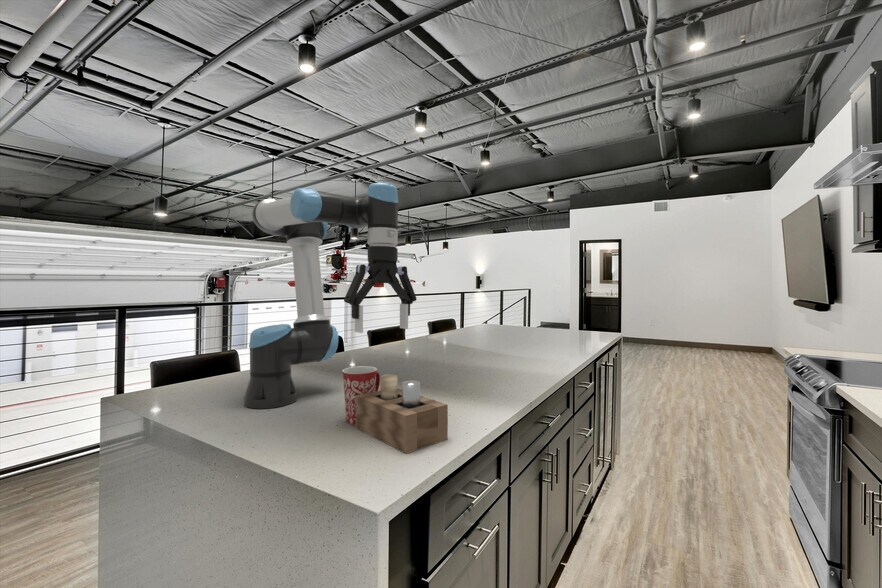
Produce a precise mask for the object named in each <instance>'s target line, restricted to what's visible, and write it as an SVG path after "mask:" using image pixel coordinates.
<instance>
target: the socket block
mask: <svg viewBox="0 0 882 588" xmlns="http://www.w3.org/2000/svg"><path fill="white" fill-rule="evenodd" d="M397 390H398V398H394V399H389V400H385V399H382V398H381V390H378V391H376V392H371V393H366V394H361V395H356V424H355V428H356V429H358V430H359V431H361V432H363V433H366V435H367V434H368V435H369V436H372V437H373V438H375V439H377V440H379V441H381V442H382V443H384V444H386V445H389V446H390V447H392V448H394V449H396V450H398V451H400V452H401V453H404V454H410V453H412V452H415V451H417V450H421V449H423V448H426V447H429V446H432V445H435V444H437V443H441V442H443V441H446V440H448V439H449V437H448V434H449V432H448V431H449V430H448V428H449V426H448V417H449V416H448V413H449V412H448V411H449V409H448V406H449V405H448V403H443V402H441V401H437V400H434V399H432V398H429V397H425V396H423V395H420V406H417V407H414V408H410V409H409V408H406V407H403V406H402V388H398V387H397Z"/></svg>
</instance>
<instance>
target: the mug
mask: <svg viewBox="0 0 882 588" xmlns="http://www.w3.org/2000/svg"><path fill="white" fill-rule="evenodd" d="M341 373H342V377H343V390H344V405H345V407H344V408H345V419H346V420H345V421H346V422H347V423H348V424H351V425H356V395H361V394H366V393H371V392H376V391H379V387H380V385H381V382H380V376H381V375H380V373H379V372H378V368H376V367H375V366H367V365H365V366H364V365H359V366H358V365H357V366H350V367H346V368H344V369H342V371H341Z"/></svg>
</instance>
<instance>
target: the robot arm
mask: <svg viewBox="0 0 882 588" xmlns="http://www.w3.org/2000/svg"><path fill="white" fill-rule="evenodd" d="M366 195H367V196H364V197H356V196H355V197H354V196H348V195H343V194H337V193H330V192H325V191H321V190H316V189H313V188H303V187H302V188H301V187H297V188H295V190H294V191H293V192H292V194H291V196H289V197H284V198H280V199H275V198H265V199H262V200H259V201H258V202H256V204H255V205H254V206H253V207H252V213H251V217H252V218H251V219H252V221H253V223H254V224H255V226H256V227H257V228H258V229H259V230H260V231H262V232H264V233H266V234H269V235H272V236H277V237H285V238H286V239H285V240H286V244H287V245H288V246H289V247H290V248H291V251H292V264H293V265H292V266H293V276H294V289H295V301H296V313H297V314H296V315H297V316H296V317H297V318H296V319H295V320H294V322H293V323H292V325H293V327H292V326H291V325H290V324H289V323H288V324H287V323H281V324H280V323H279V324H272V325H266V326H263V327H262V326H261V327H258V328H255V329H254V330H252V331H251V333H250V335H249V343H248V344H249V345H248V347H249V381H248V384H247V387H246V390H245V392H244V395H243V407H246V408H249V409H256V410H257V409H272V408H273V409H274V408H278V407H284V406H287V405H291V404H293V403H295V402H296V401H298V390H297V388H296V385H295V382H294V380H293V377H292V366H294V365H295V366H296V365H300V364H301V365H303V364H309V363H320V362H322V361H328V360H330V359H332V358H333V357H334V356H335V353H336V352H337V349H338V346H339V332H338V330H337V328H336V326H334V325H332V324H331V322H330V318H328V317H327V316H326V314H325V307H324V297H323V296H324V295H323V284H322V274H321V273H322V272H321V263H320V252H319V251H320V250H319V247H320V246H321V245H322V244H323V240H324V239H325V238H326V237H327V235H328V230H329V224H335V225H343V226H346V227H348V228H351V229H362V228H365V227H367V245H368V248H367V261H368V263H367V265H366V264H357V265H356V267H355V274H354V275H353V279H352V281H351V283H350V285H349V288H348V289H347V292H346V294H345V297H344V298H343V302H344V303H346V304H349V305H350V306H351V318H352V319H354V333H358V334H362V333H363V332H364V305H361V303H362V302H363V301H364V299H365V298H366V297H367V295H368V294H369V293H370V291H371V289H373V287H374V286H375V285H376V284H388V285H390V286H391V288H392V289H393V290H394V292H395V293H396V295H397V296H398V298H399V299H400V301H401V303H399V329H403V330H408V329H409V316H410V315H411V305H412V304H413V302H416V301H417V295H416V293H415V290H414V288H413V285H412V283H411V280H410V277H409V274H408V268H407V266H406V265H403V266H398V265H397V262H398V257H399V256H398V254H399V253H398V247H396V246H398V243H399V242H398V239H399V237H398V234H399V233H398V232H399V231H398V228H399V220H398V219H399V195H398V188H397V187H396V185H394V184H391V183H388V182H374V183H371V184H369V186H368V189H367V193H366ZM367 273H368V277H367V278H366V279H365V281H364V278H365V276H366V274H367ZM397 275H398V277H397ZM363 281H364V284H362V283H363ZM361 285H362V286H361Z"/></svg>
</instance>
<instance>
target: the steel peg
mask: <svg viewBox="0 0 882 588" xmlns="http://www.w3.org/2000/svg"><path fill="white" fill-rule="evenodd" d="M401 390H402V406H403V407H406V408H409V409H410V408H414V407H417V406H420V396H421V382H420V381H419V380H415V379H413V380H412V379H411V380H404V381H401Z"/></svg>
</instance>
